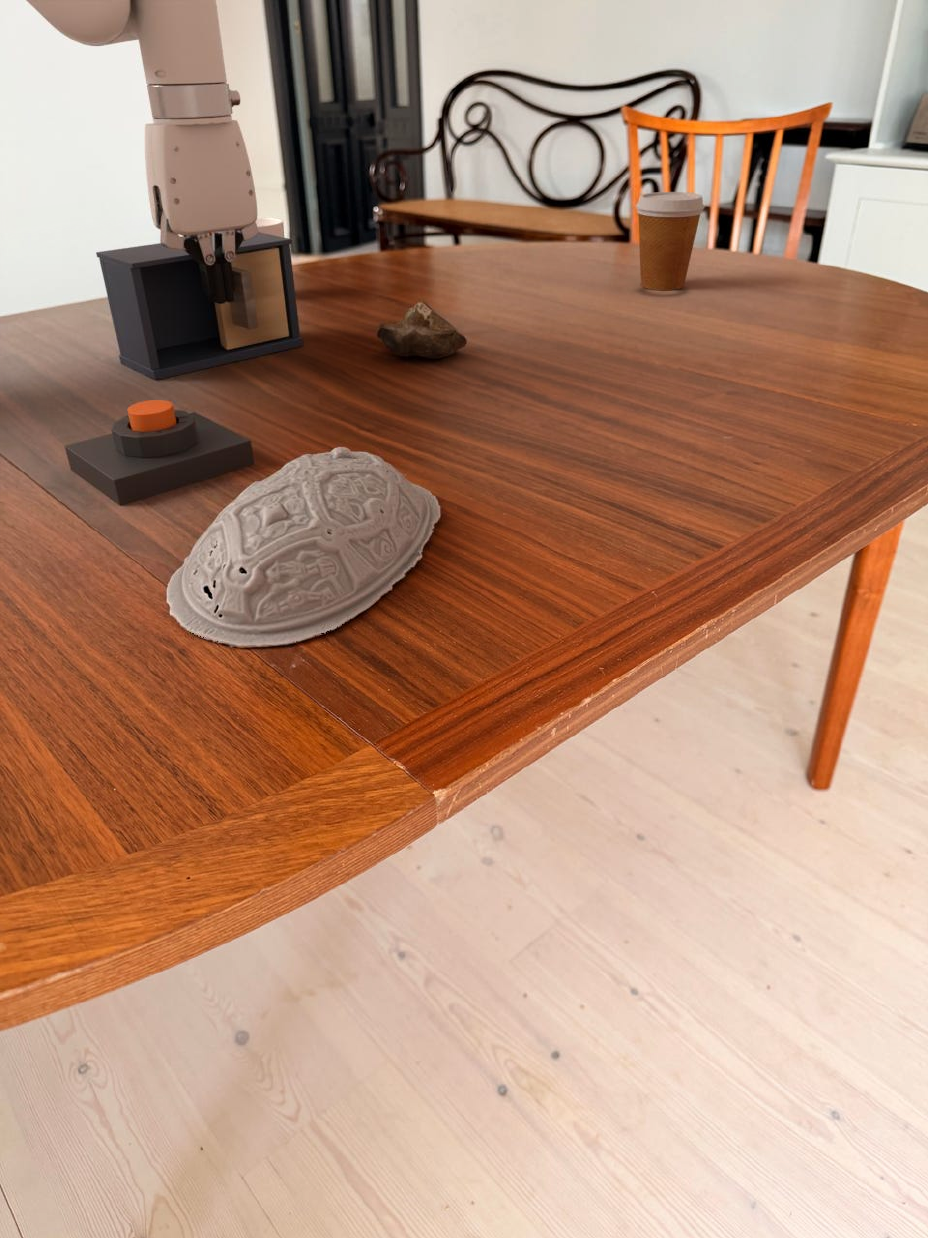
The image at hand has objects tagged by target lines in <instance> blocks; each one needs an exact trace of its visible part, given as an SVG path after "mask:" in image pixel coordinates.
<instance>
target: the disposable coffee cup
mask: <svg viewBox="0 0 928 1238" xmlns="http://www.w3.org/2000/svg"><path fill="white" fill-rule="evenodd" d="M635 208H636V213H637V216H638V245H639V266H640V267H639V270H640V272H639V273H640V274H639V275H640V286H641V287H643V288H645V289H648V290H654V291H673V290H679V289H682V288H684V287H685V283H686V279H687V275H688V271H689V266H690V262H691V258H692V253H693V250H694V249H693V248H694V245H695V240H696V235H697V230H698V227H699V222H700V217H701V214H702V213H703V210H704V209H705V208H706V206H705V205H704V202H703V195H701V194H698V193H693V192H683V191H681V192H680V191H661V192H660V191H658V192H647V193H643V194H640V195H639V197H638V201H637V204H635Z"/></svg>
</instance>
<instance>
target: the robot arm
mask: <svg viewBox="0 0 928 1238" xmlns="http://www.w3.org/2000/svg"><path fill="white" fill-rule="evenodd" d="M25 1H26V2H27V3H28V4H29V5H30V6H31V7H32V8H33V9H34V10H36V12H38V14H39V15H40V16H42V17H43V18H44V19H45V20H46V21H47V22H48V24H50V25H51V26H52V27H53V28H54V29H55V30H57V31H58V32H59V33H60V34H61V35H63V36H65V37H66V38H68V39H70V40H73V41H74V42H76V43H79V44H82V45H85V46H90V47H103V46H109V45H115V44H118V43H124V42H131V41H138V43H139V49H140V54H141V59H142V60H141V61H142V66H143V71H144V77H145V82H146V87H147V88H146V89H147V95H148V100H149V101H148V102H149V106H150V110H151V111H150V113H151V117H152V122H153V123H145V124H144V160H145V172H146V174H145V176H146V184H147V192H148V202H149V209H150V213H151V214H150V215H151V218H152V222H153V225H154V227H155V228H156V229H158V230H160V235H159V237H160V238H159V240H160V241H159V243H161V245H162V246H164V247H167V248H171V249H179V250H184V251H185V252H187V253H188V254H189V255H190V256H191V257H193V259H194V260H195V261H196V262H198V263H199V269H200V275H201V281H202V287H203V291H204V294H205V295H207V299H208V300H209V301H212V302H215V303H218V304H223V303H225V302H233V301H234V295H233V291H234V290H235V285H234V278H233V272H232V265H231V262H233V261H234V260H235V253H236V251H237V250H238V248H239V246H240V245H241V243H242V242H243V241H246V240H248V239H250V238H253V237H255V236H257V235H258V232H259V231H258V227H257V224H256V220H257V218H258V202H257V194H256V189H255V181H254V177H253V171H252V167H251V162H250V158H249V154H248V150H247V146H246V143H245V139H244V137H243V133H242V130H241V128H240V124H239V122H238V120H237V119H233V116H232V114H233V107H235V106H240V105H241V95H240V93H239V91H238V90H232V89H230V84H229V83H227V82H228V79H227V73H226V66H225V65H226V64H225V58H224V50H223V44H222V35H221V29H220V20H219V13H218V6H217V0H25ZM209 234H211V236H212V246H211V242H210V239H209V236H210V235H209Z"/></svg>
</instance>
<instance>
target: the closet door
mask: <svg viewBox="0 0 928 1238" xmlns="http://www.w3.org/2000/svg"><path fill="white" fill-rule="evenodd" d="M231 265H232V272H233V278H234V285H235V290H234V291H233V295H234V301H233V302H225V303H223V304H218V309H219V315H220V322H221V328H222V334H223V341H224V347H225V349H227V350H230V349H234V348H239V347H243V346H248V345H252V344H257V343H261V342H265V341H270V340H274V339H279V338H283V337H288V336H289V331H288V323H287V314H286V306H285V298H284V289H283V281H282V273H281V264H280V256H279V248H277V247H272V248H266V249H259V250H253V251H246V252H240V253H235V260H234V261H233V262H231Z"/></svg>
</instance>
